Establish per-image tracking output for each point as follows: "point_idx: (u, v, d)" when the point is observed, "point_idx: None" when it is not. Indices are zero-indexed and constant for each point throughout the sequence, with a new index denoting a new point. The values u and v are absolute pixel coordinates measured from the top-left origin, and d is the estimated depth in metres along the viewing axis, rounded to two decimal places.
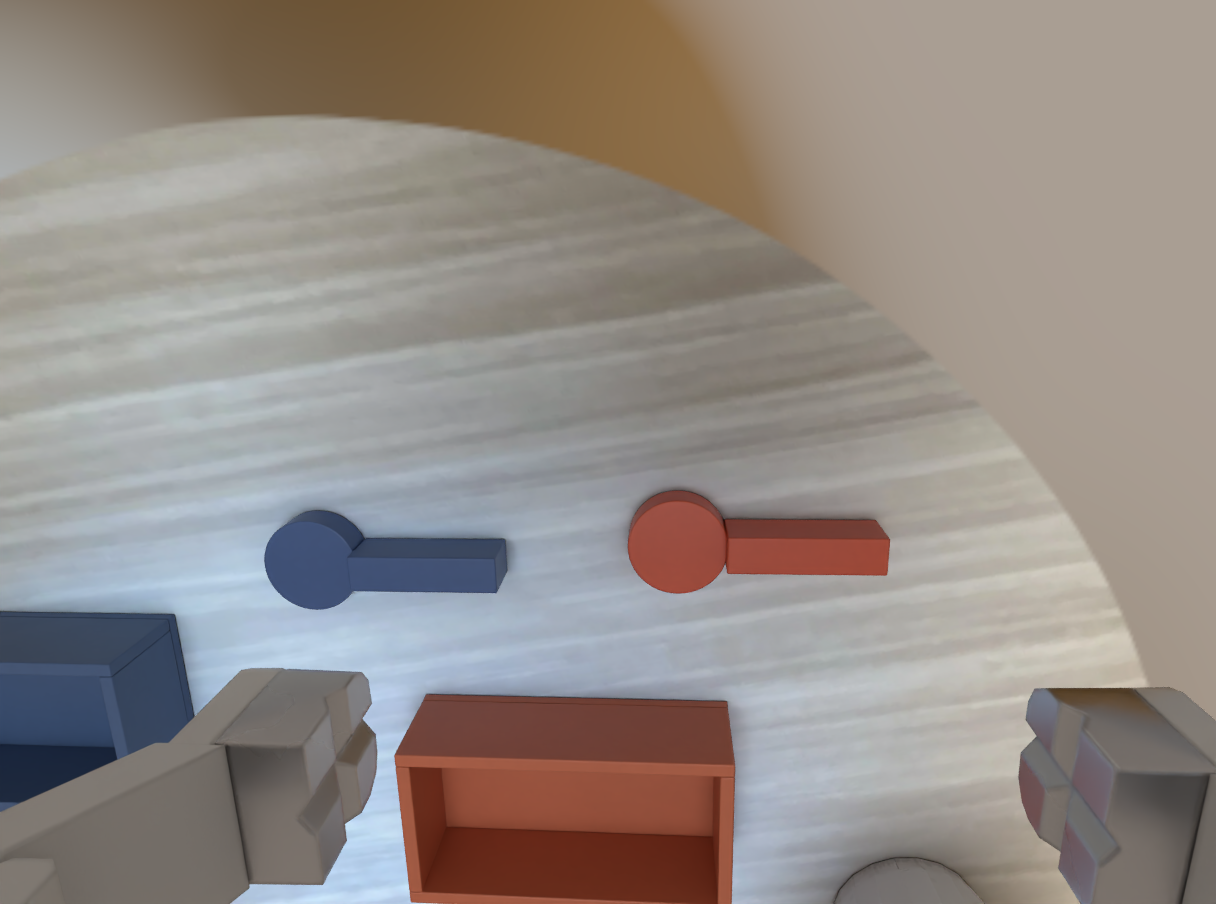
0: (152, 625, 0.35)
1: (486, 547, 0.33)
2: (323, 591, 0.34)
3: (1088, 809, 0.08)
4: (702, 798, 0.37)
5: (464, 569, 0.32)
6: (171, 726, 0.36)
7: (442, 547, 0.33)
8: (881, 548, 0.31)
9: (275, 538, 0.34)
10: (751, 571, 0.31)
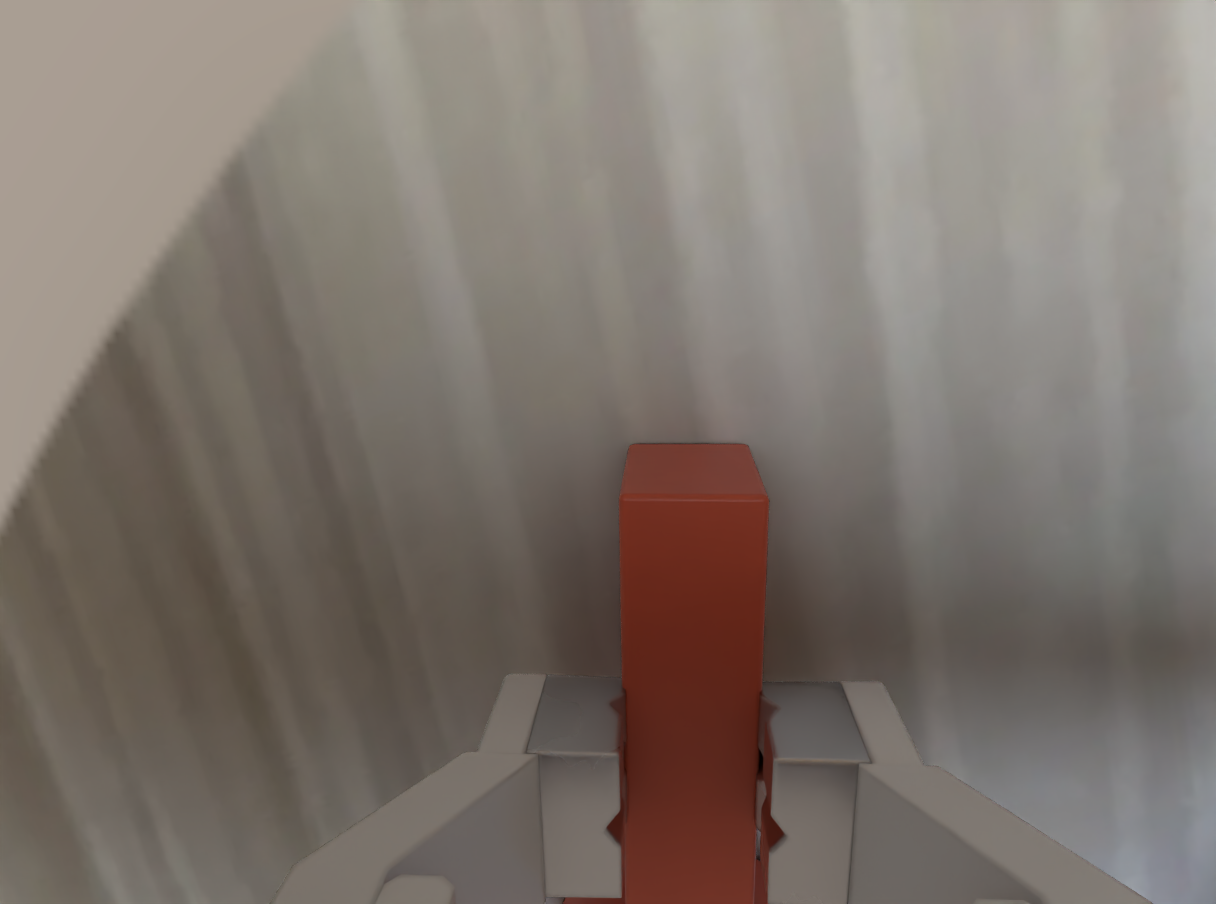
0: None
1: None
2: None
3: None
4: None
5: None
6: None
7: None
8: (656, 523, 0.08)
9: None
10: None
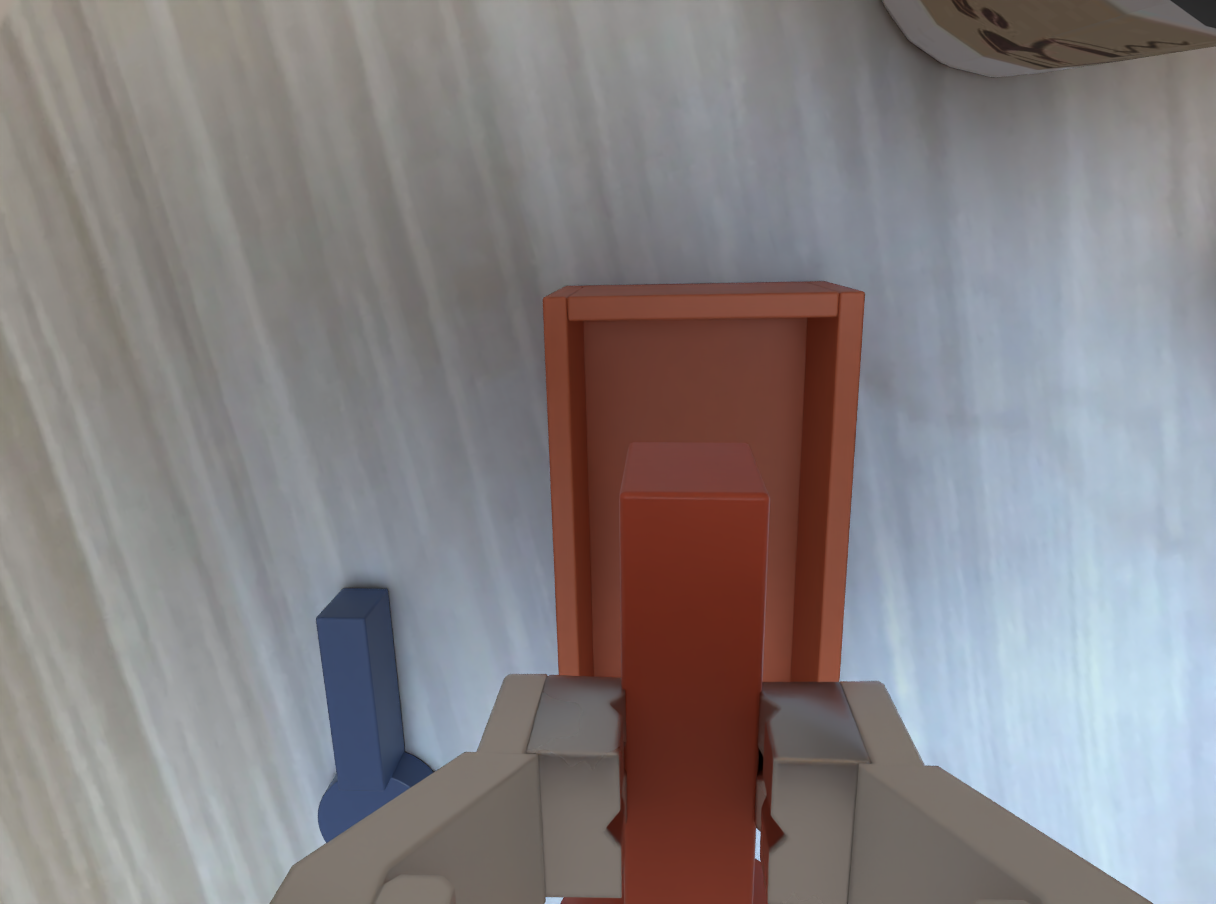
0: None
1: None
2: None
3: None
4: (732, 322, 0.23)
5: (334, 655, 0.24)
6: None
7: None
8: (656, 521, 0.08)
9: None
10: None
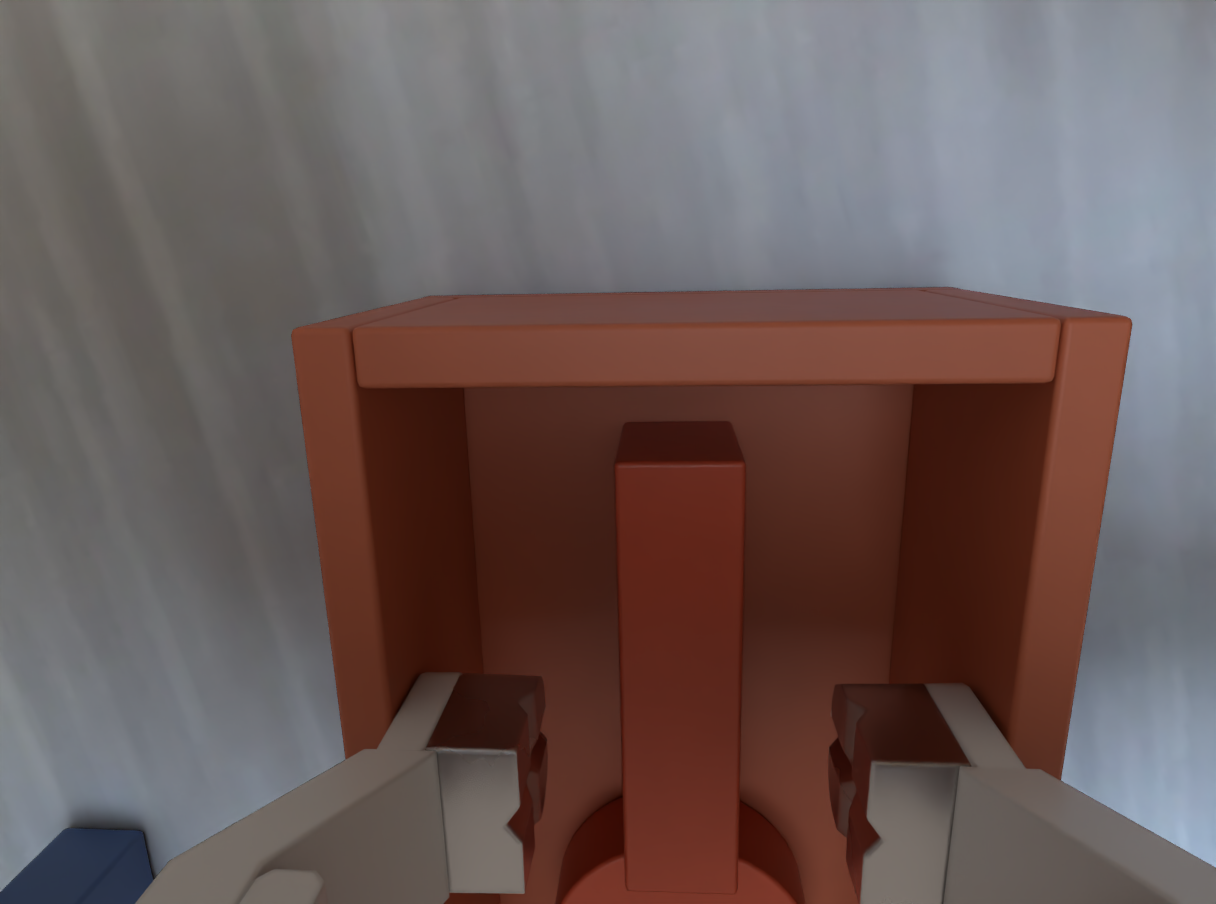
0: None
1: None
2: None
3: None
4: None
5: None
6: None
7: None
8: (647, 487, 0.09)
9: None
10: (726, 837, 0.11)
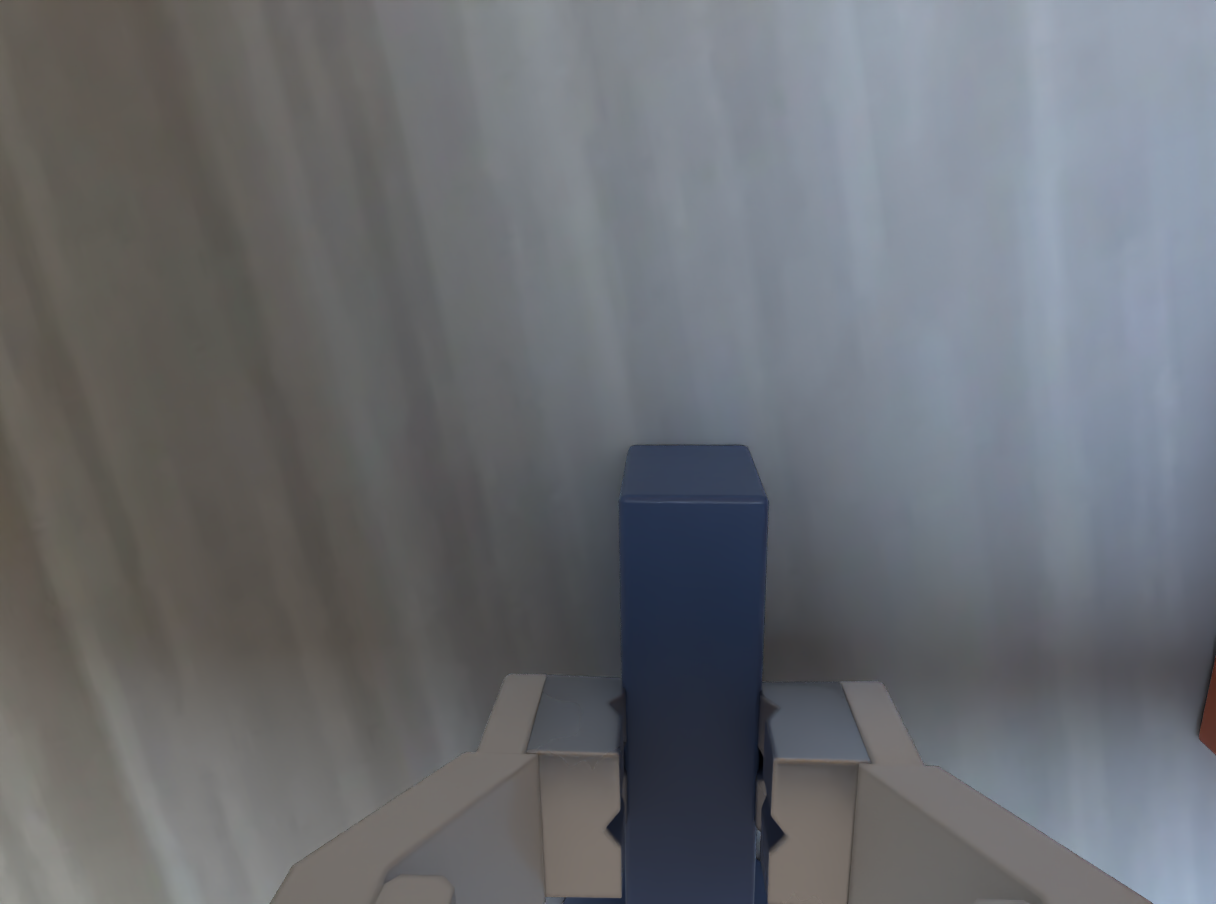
0: None
1: None
2: None
3: None
4: None
5: (664, 610, 0.09)
6: None
7: None
8: None
9: None
10: None
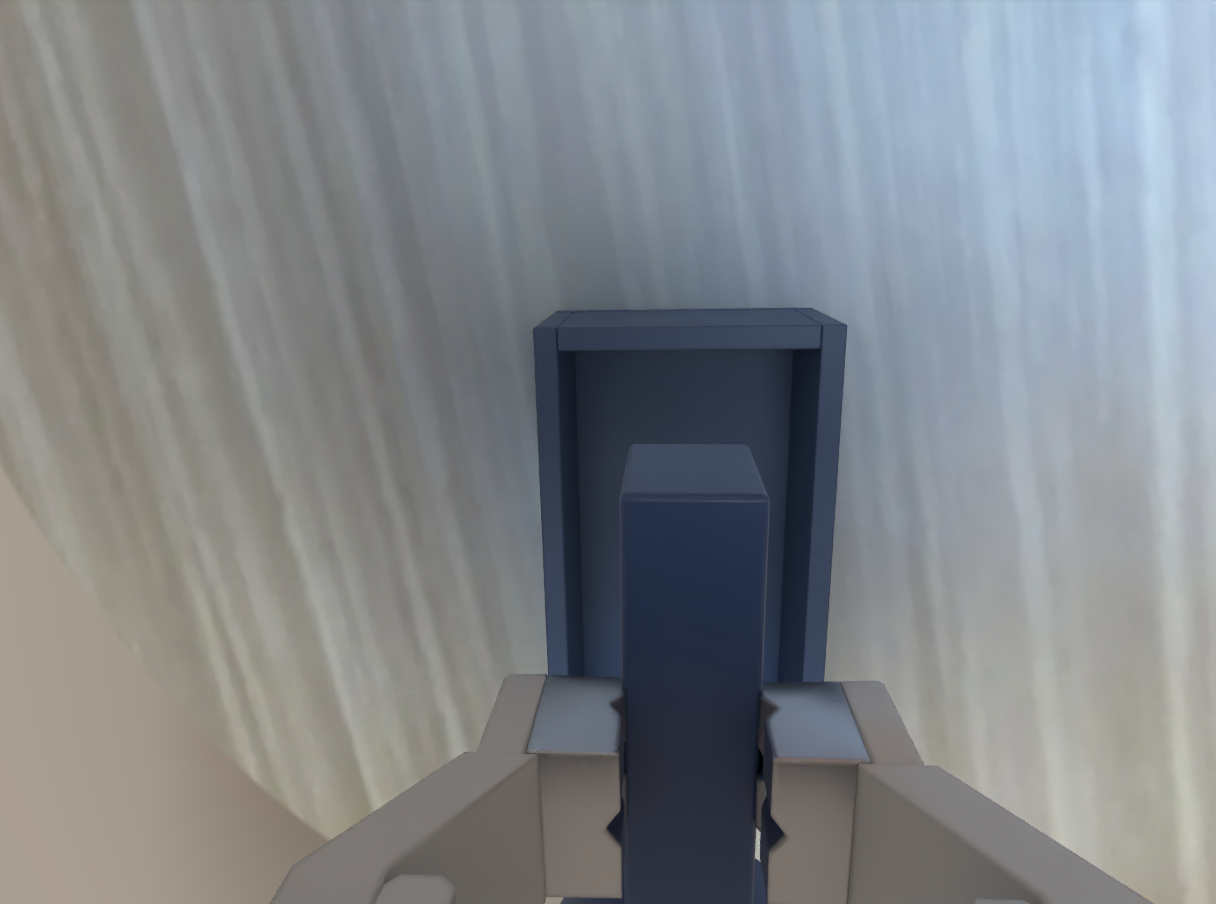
0: None
1: None
2: None
3: None
4: None
5: (665, 607, 0.09)
6: (724, 314, 0.22)
7: None
8: None
9: None
10: None
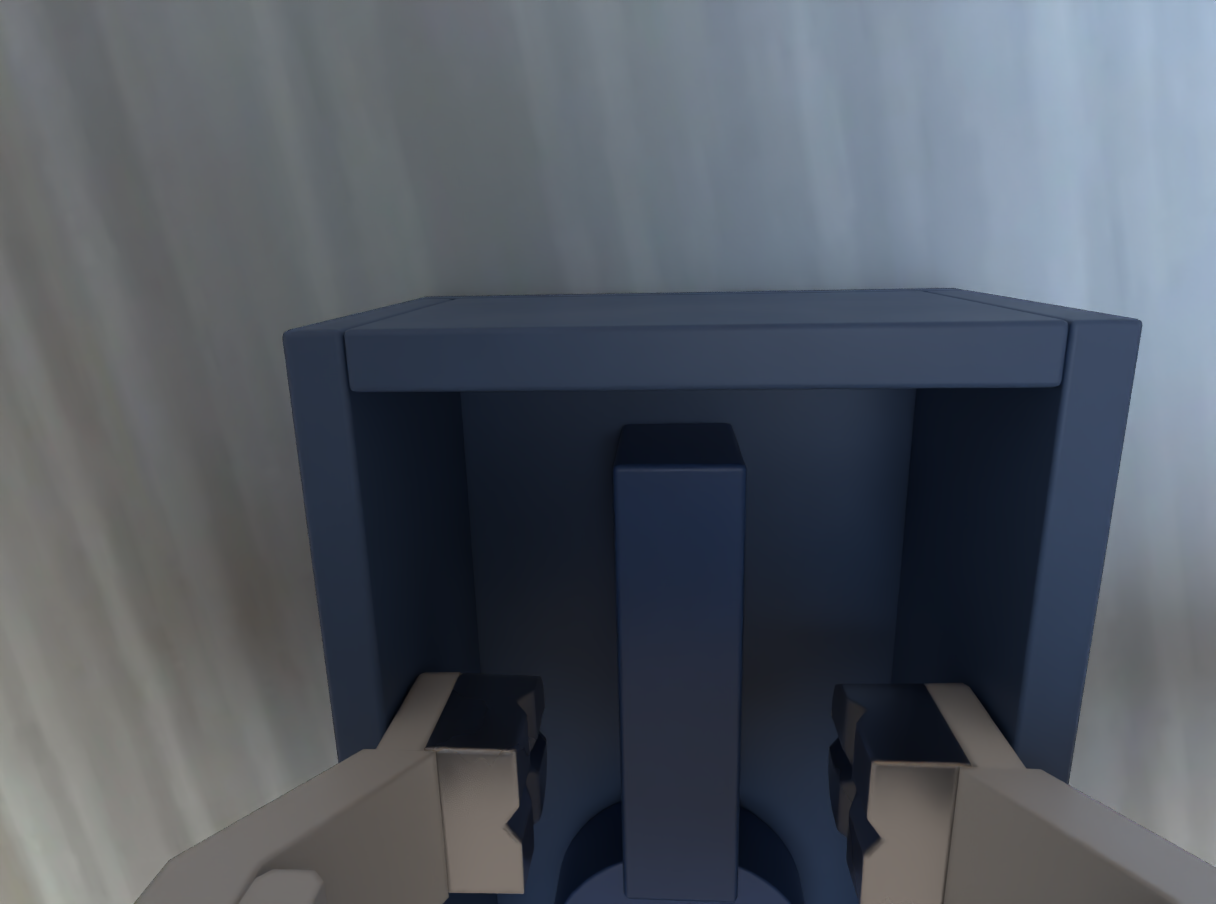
0: None
1: None
2: None
3: None
4: None
5: (654, 568, 0.09)
6: (775, 299, 0.10)
7: None
8: None
9: None
10: None
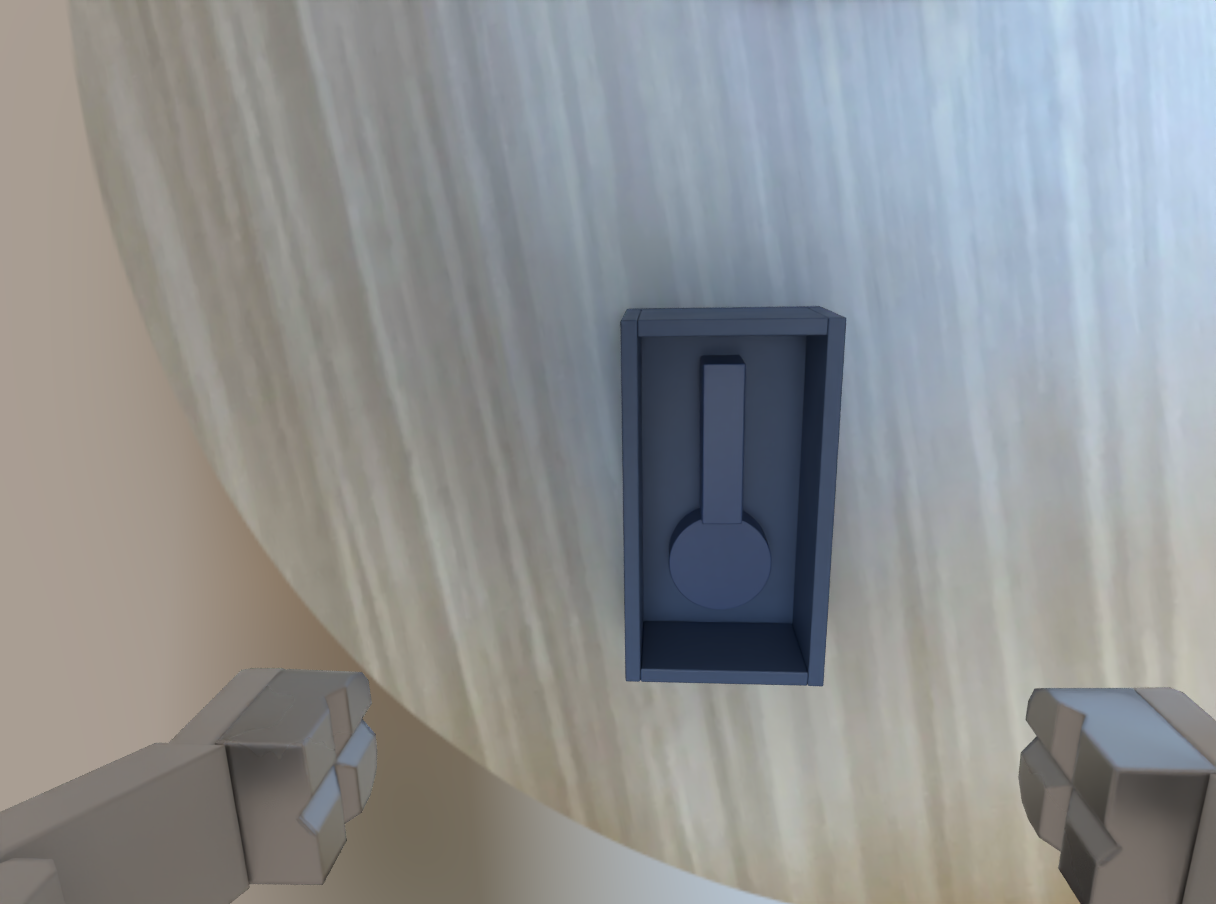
0: None
1: (701, 375, 0.30)
2: (750, 554, 0.31)
3: (1087, 809, 0.08)
4: None
5: (715, 398, 0.29)
6: (755, 311, 0.29)
7: None
8: None
9: (688, 594, 0.32)
10: None
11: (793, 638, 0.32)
